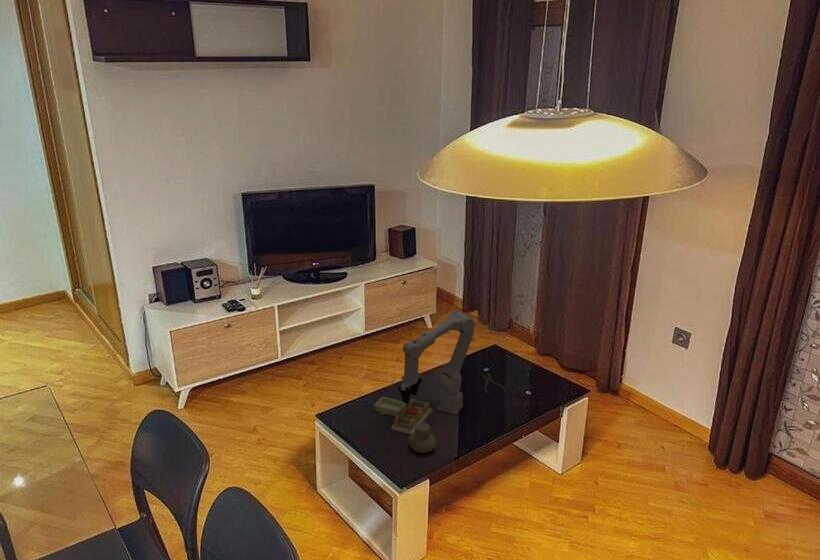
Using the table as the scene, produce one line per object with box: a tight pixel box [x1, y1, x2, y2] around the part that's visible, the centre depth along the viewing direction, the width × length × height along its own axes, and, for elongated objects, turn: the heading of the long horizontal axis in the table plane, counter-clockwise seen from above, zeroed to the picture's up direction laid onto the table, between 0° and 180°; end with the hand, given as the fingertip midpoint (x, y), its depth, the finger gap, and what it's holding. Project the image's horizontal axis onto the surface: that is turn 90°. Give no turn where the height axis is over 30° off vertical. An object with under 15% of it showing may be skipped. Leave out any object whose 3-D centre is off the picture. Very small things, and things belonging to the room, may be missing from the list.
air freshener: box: [408, 422, 437, 454], centre depth 242 cm, size 11×8×10 cm
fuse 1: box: [394, 415, 415, 426], centre depth 255 cm, size 8×3×3 cm, turn 64°
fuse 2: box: [409, 398, 430, 410], centre depth 267 cm, size 8×3×3 cm, turn 64°
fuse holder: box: [391, 398, 433, 436], centre depth 262 cm, size 10×20×4 cm, turn 154°
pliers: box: [480, 372, 507, 395], centre depth 292 cm, size 10×1×20 cm
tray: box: [373, 395, 408, 418], centre depth 269 cm, size 12×8×3 cm, turn 64°
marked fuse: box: [403, 406, 422, 418], centre depth 261 cm, size 8×3×3 cm, turn 64°
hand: (409, 398), depth 259 cm, fingers open, 7 cm apart
